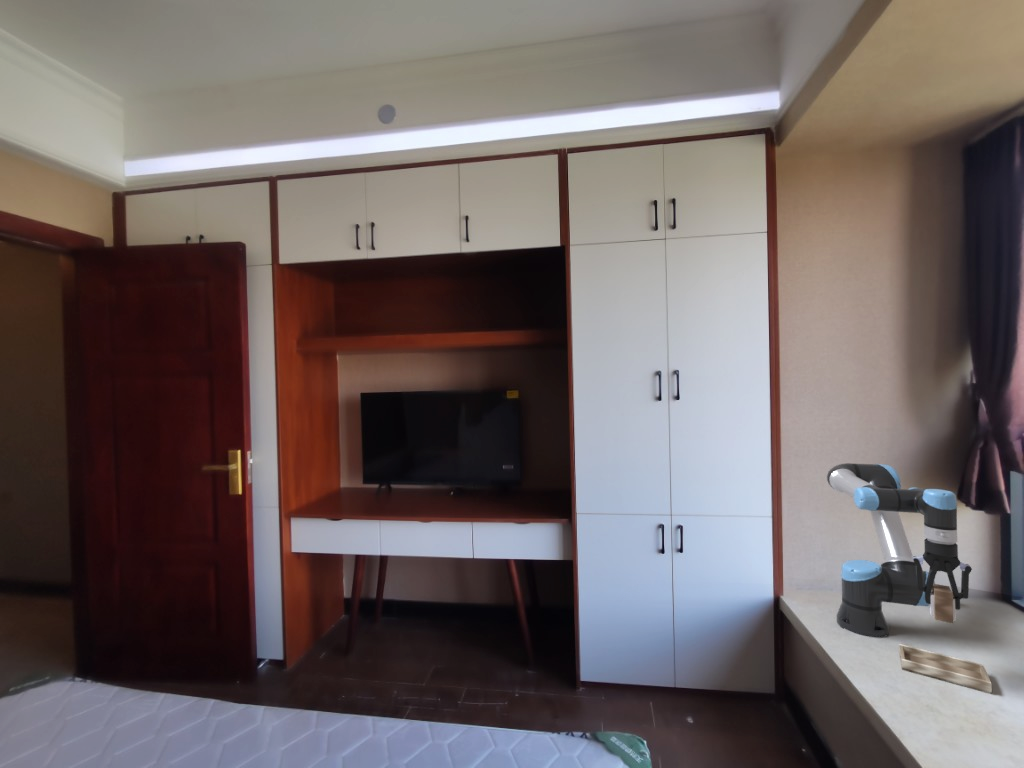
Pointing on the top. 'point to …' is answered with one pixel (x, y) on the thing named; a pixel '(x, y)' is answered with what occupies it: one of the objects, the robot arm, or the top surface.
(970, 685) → the open wooden box
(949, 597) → the tan wooden block
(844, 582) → the robot arm
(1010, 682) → the top surface
